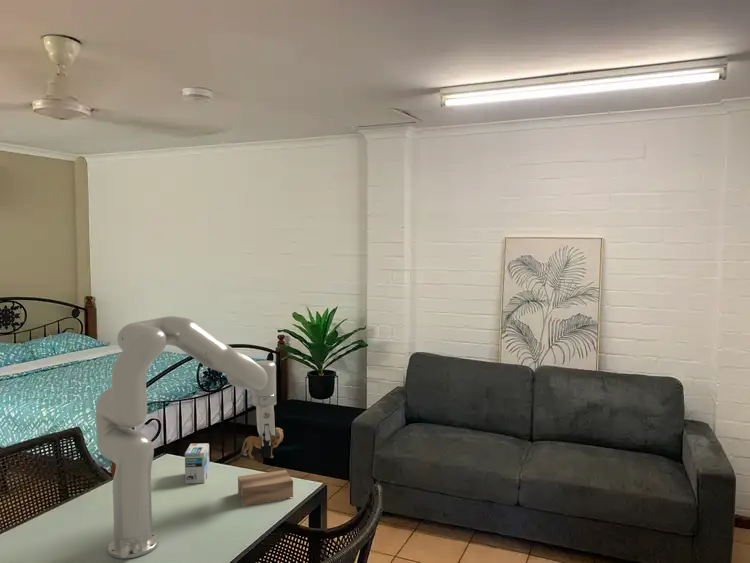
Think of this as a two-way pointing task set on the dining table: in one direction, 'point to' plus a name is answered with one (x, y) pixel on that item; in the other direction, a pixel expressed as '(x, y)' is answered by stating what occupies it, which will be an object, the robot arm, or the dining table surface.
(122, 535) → the robot arm
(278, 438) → the lion figurine
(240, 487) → the walnut block
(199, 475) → the light bulb box
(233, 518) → the dining table surface
